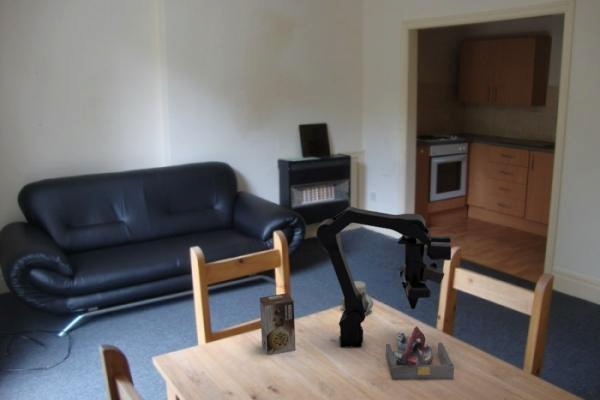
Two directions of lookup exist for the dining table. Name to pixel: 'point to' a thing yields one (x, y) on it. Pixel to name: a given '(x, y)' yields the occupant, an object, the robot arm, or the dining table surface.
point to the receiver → (421, 367)
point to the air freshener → (361, 288)
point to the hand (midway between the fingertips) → (413, 308)
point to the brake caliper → (413, 349)
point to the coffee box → (277, 323)
